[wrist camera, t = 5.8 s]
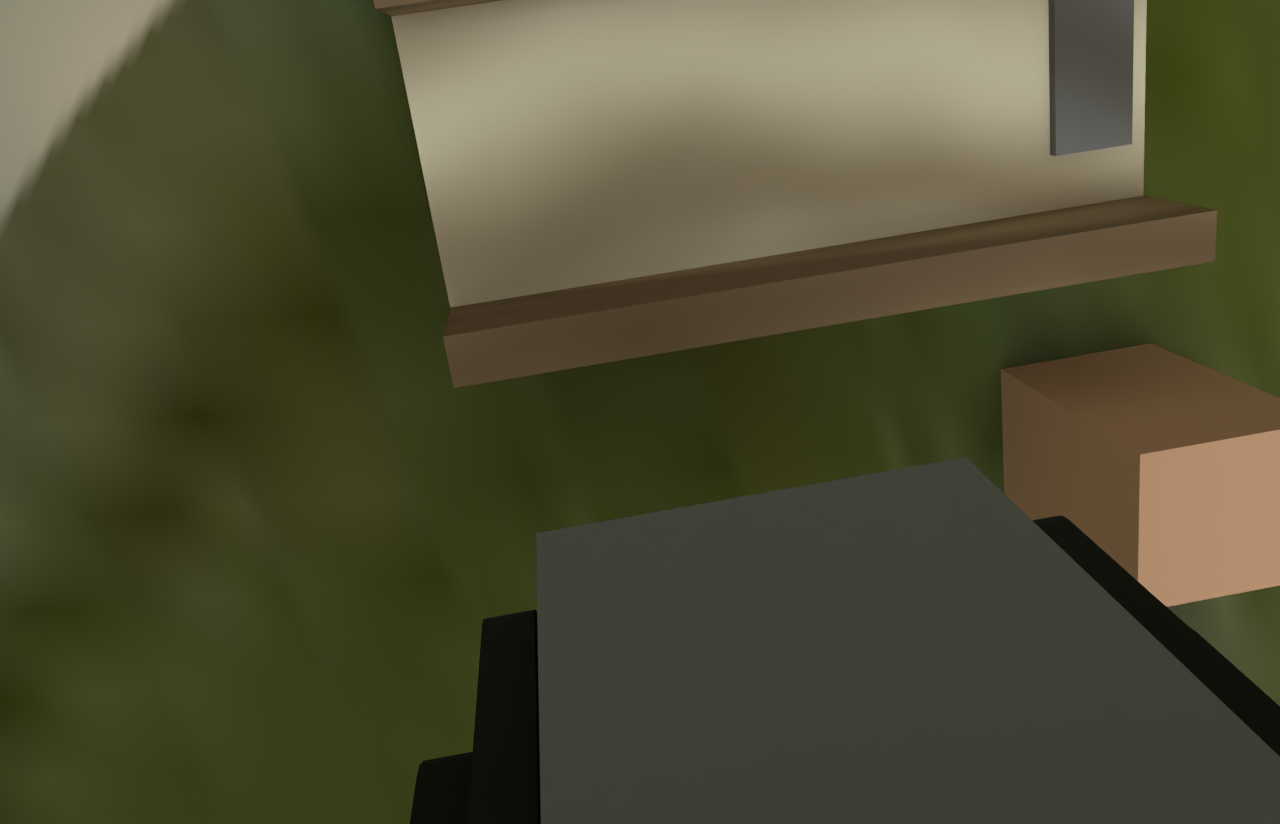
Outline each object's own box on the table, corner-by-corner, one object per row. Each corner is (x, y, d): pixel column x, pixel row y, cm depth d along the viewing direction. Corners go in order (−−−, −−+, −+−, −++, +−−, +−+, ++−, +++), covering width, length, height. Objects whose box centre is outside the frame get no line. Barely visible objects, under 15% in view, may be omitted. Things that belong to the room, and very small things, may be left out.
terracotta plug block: (1148, 471, 31) (1318, 577, 25) (1004, 497, 31) (1136, 611, 24) (1150, 343, 30) (1330, 420, 24) (1000, 369, 30) (1139, 454, 23)
